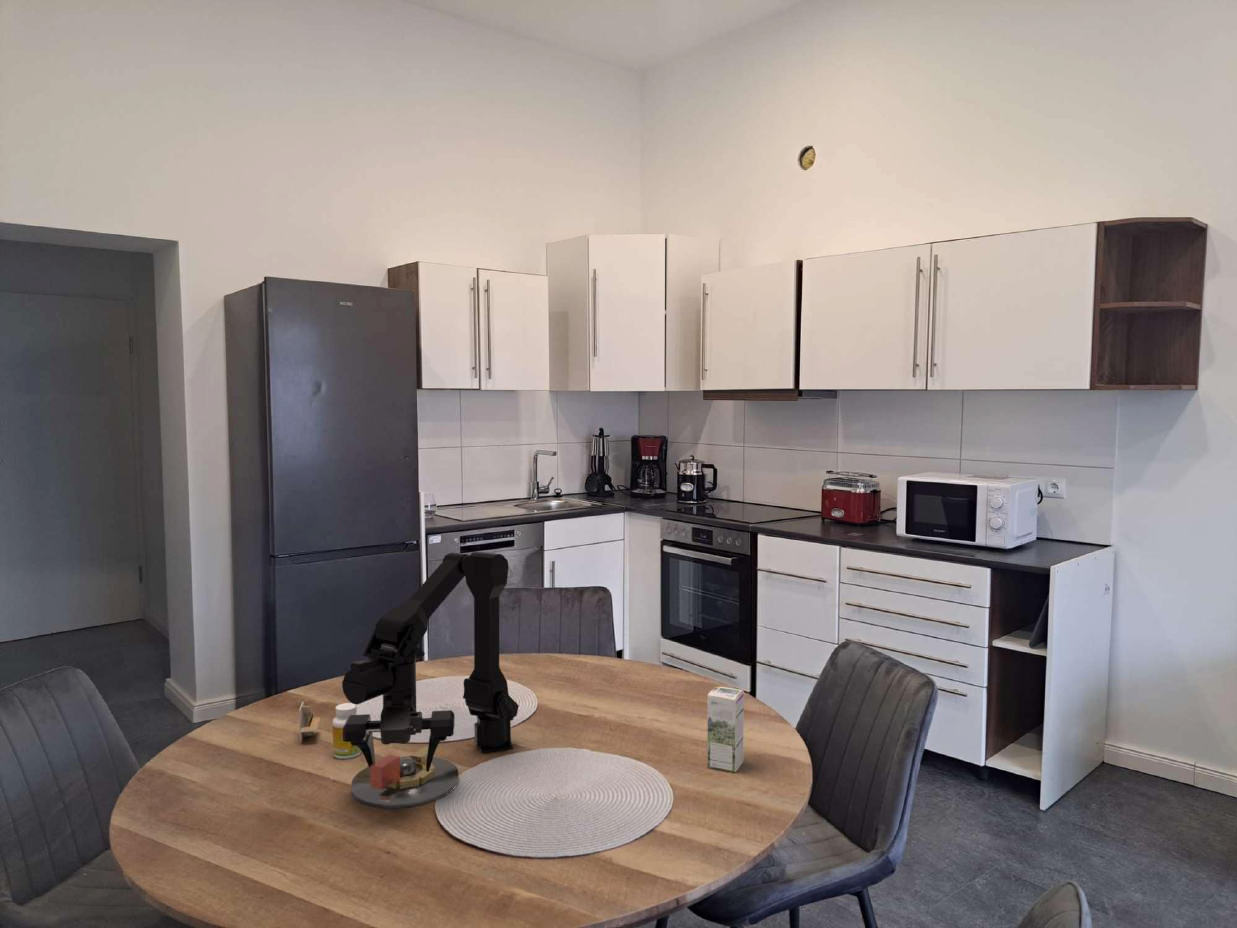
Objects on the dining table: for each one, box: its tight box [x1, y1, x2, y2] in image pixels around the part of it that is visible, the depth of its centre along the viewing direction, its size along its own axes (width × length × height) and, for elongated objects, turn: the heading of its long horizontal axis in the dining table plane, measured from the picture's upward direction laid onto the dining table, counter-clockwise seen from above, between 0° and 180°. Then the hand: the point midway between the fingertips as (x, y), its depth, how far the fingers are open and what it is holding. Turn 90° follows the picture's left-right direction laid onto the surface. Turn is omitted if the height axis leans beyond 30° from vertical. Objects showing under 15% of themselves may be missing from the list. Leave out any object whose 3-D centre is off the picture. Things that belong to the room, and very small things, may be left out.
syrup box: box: [706, 685, 745, 773], centre depth 162 cm, size 6×6×14 cm
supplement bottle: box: [331, 702, 362, 760], centre depth 168 cm, size 5×5×10 cm
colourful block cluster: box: [370, 745, 437, 790], centre depth 155 cm, size 13×13×5 cm
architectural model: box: [298, 701, 321, 744], centre depth 176 cm, size 3×7×7 cm, turn 13°
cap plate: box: [350, 755, 459, 810], centre depth 155 cm, size 19×19×4 cm
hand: (400, 772), depth 150 cm, fingers open, 9 cm apart
